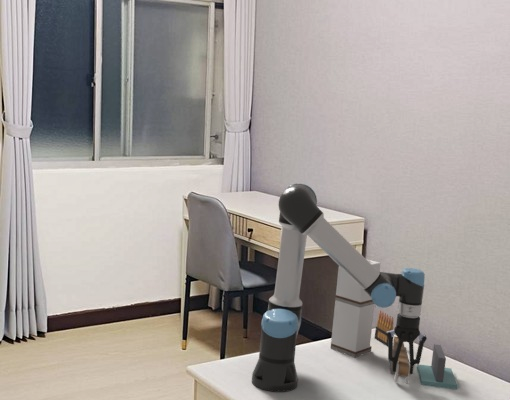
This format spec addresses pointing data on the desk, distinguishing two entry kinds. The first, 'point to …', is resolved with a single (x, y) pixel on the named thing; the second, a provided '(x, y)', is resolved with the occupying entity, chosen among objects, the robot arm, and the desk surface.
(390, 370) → the riser block
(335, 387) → the desk surface
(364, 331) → the tall open-top box
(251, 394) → the desk surface
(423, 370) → the stand
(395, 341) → the walnut rod
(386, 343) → the ammunition clip
